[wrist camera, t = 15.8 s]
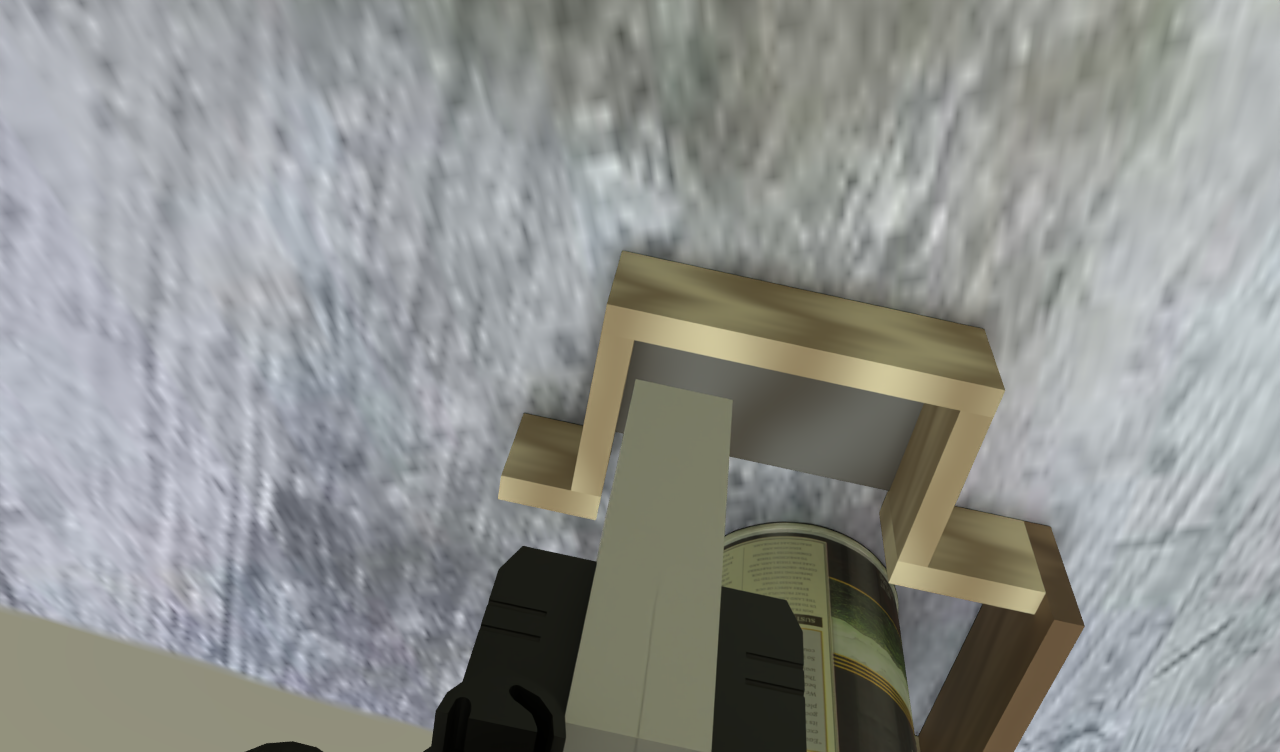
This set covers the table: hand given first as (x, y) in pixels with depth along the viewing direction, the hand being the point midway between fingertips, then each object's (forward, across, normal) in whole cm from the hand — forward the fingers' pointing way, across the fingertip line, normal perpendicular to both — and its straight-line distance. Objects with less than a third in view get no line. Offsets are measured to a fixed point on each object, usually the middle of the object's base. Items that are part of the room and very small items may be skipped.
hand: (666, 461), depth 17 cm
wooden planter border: (+24, +6, -24) cm, 35 cm away
